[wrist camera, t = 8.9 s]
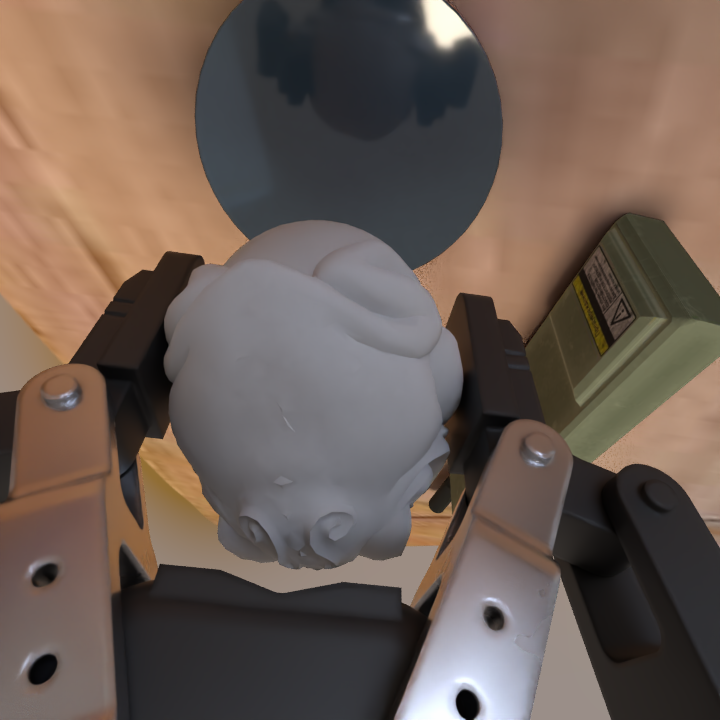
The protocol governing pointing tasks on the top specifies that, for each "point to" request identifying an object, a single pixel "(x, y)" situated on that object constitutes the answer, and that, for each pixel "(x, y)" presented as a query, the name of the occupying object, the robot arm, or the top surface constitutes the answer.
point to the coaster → (350, 119)
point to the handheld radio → (618, 340)
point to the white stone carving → (311, 394)
